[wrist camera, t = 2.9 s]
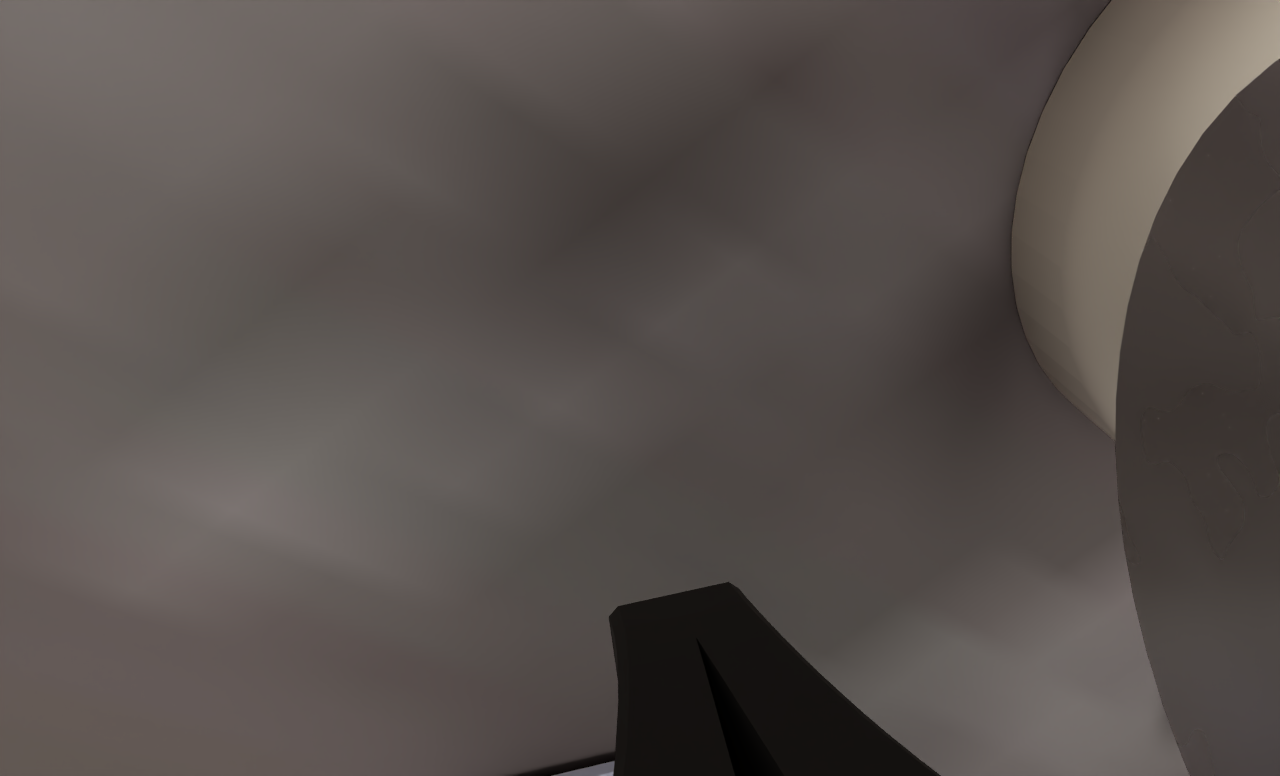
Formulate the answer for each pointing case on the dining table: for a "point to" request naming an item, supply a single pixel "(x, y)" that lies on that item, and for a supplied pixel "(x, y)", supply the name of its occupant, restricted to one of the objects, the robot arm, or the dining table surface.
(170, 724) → the dining table surface
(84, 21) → the dining table surface
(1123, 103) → the pot
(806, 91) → the dining table surface
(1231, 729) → the lid
